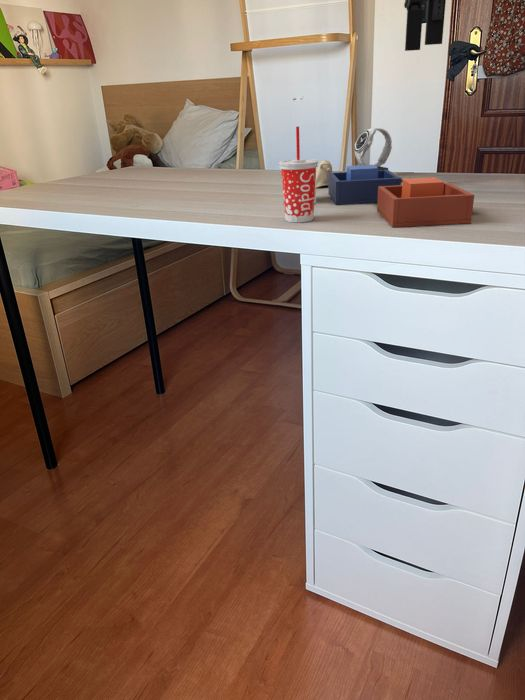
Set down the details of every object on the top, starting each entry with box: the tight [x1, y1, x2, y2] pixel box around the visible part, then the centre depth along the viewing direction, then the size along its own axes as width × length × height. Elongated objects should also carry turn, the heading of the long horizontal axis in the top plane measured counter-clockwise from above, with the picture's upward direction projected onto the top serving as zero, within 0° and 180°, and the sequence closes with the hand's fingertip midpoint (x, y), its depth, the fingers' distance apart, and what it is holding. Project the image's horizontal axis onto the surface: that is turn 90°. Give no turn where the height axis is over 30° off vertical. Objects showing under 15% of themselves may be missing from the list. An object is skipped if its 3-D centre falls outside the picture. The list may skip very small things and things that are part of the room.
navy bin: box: [327, 169, 402, 206], centre depth 99 cm, size 12×12×4 cm
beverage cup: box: [278, 126, 319, 223], centre depth 83 cm, size 6×6×14 cm
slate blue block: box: [346, 164, 378, 180], centre depth 99 cm, size 5×5×5 cm
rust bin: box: [376, 182, 475, 228], centre depth 82 cm, size 12×12×4 cm
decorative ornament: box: [316, 159, 333, 189], centre depth 113 cm, size 4×8×5 cm, turn 175°
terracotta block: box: [401, 176, 445, 198], centre depth 82 cm, size 5×5×5 cm
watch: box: [353, 127, 393, 170], centre depth 113 cm, size 6×8×11 cm
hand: (422, 47), depth 95 cm, fingers open, 13 cm apart
